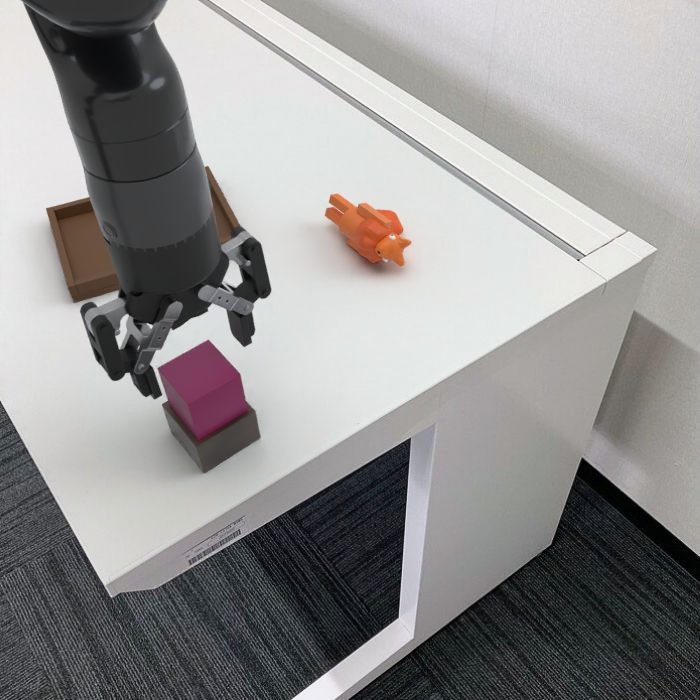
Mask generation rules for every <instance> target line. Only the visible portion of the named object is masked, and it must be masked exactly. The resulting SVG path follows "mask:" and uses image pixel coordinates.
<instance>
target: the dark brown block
mask: <svg viewBox="0 0 700 700" xmlns="http://www.w3.org/2000/svg"><path fill="white" fill-rule="evenodd" d="M246 404H247V409H248V411H246V412H245V413H243V414H241V415H240V416H238V417H236V418H235V419H233V420H232V421H230V422H228V423H227V424H225V425H223V426H222V427H220V428H218V429H217V430H215V431H214V432H212V433H210V434H209V435H207V436H205V437H204V438H202V439H200V440H198V439H197V438H196V437H195V436H194V434H193V433H192V432H191V431H190V430H189V428H188V427H187V426H186V425H185V423H184V422H183V421H182V420H181V418H180V417H179V416H178V415H177V413H176V412H175V411H174V410H173V409H172V407H171V406H170V405H169V402H168V400H166V401H165V402H162V403H161V407H162V410H163V412H164V416H165V418H166V422H167V425H168V427H169V430H170V432H171V434H173V436H174V437H175V438H176V439H177V441H178V442H179V444H180V445H181V446H182V447H183V448H184V449H185V451H186V452H187V453H188V455H189V456H190V457H191V459H192V460H193V461H194V462H195V463H196V465H197V466H198V467H199V469H200V470H201V471H202V473H204V474H206V473H207V472H209V471H211V470H212V469H214V468H215V467H217V466H219V465H220V464H221V463H223V462H225V461H227V460H228V459H230V458H231V457H232V456H234V455H236V454H238V453H239V452H240V451H242V450H244V449H245V448H247V447H248V446H250V445H252V444H253V443H255V442H256V441H258V440H259V439H261V438H262V437H261V433H260V432H261V431H260V426H259V421H258V417H257V411H256V410H255V408H253V406H252V405H251V404H250V403H249V402H248V401H247V400H246Z"/></svg>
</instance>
